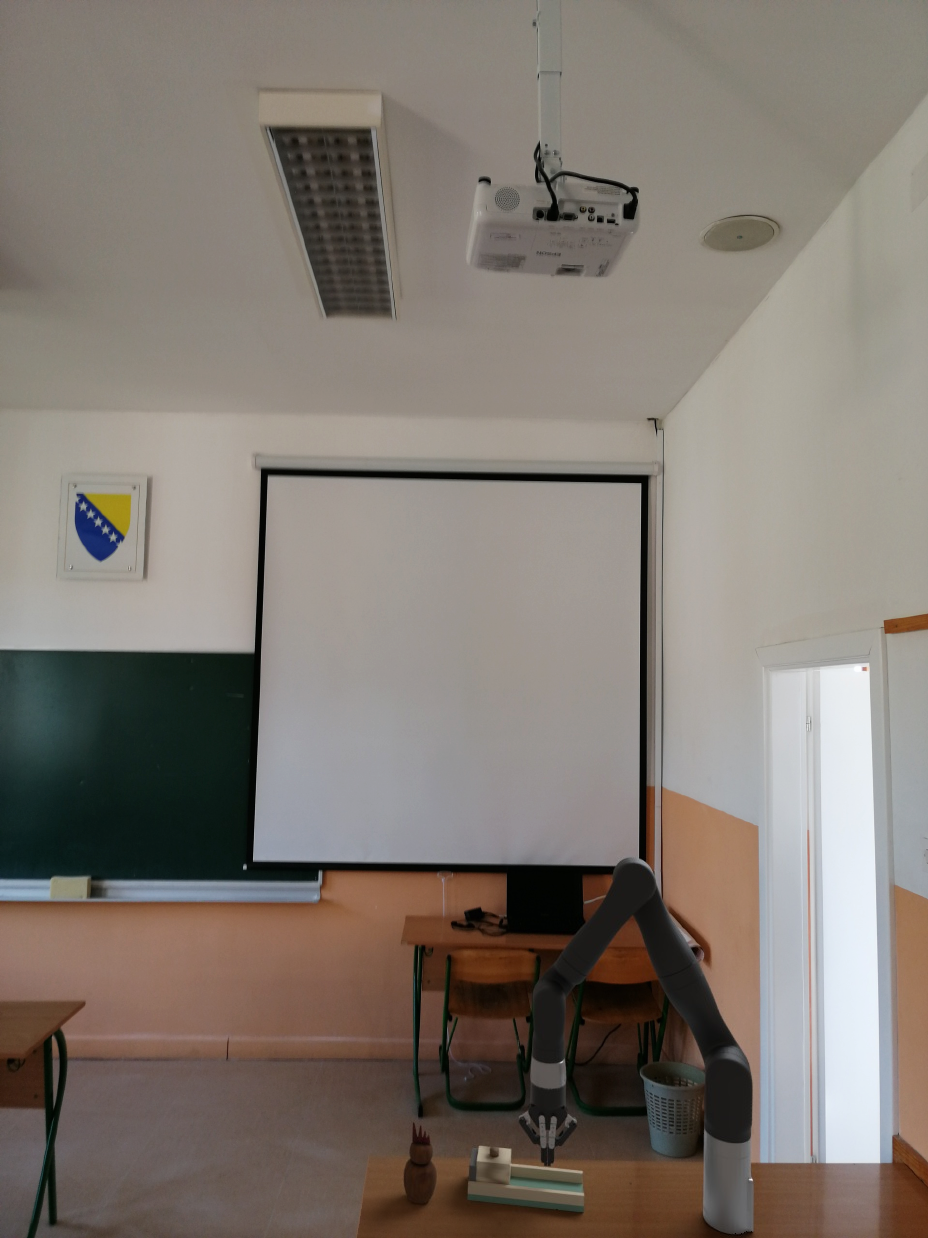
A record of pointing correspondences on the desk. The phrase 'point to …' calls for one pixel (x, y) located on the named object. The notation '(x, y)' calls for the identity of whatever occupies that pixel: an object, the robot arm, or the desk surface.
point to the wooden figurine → (420, 1169)
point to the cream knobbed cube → (493, 1165)
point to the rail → (531, 1187)
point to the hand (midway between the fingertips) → (547, 1164)
